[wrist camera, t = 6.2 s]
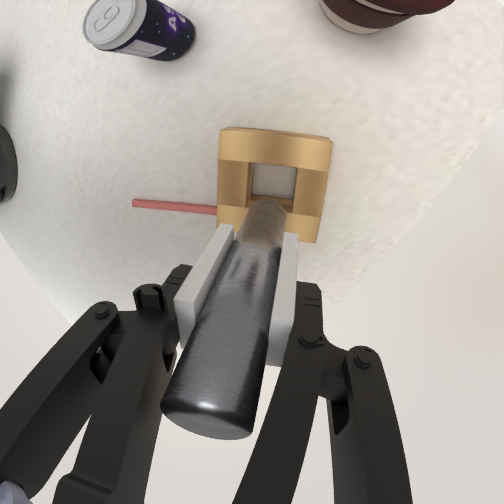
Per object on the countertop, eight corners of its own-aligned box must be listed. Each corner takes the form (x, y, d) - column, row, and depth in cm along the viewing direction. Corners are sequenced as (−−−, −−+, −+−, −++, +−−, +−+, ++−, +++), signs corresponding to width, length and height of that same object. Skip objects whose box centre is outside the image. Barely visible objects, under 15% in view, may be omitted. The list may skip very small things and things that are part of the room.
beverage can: (206, 42, 22) (152, 12, 12) (163, 71, 24) (93, 64, 14) (182, 8, 20) (123, -28, 10) (141, 37, 22) (70, 21, 12)
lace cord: (134, 204, 33) (132, 206, 32) (134, 199, 32) (131, 200, 32) (226, 214, 32) (224, 216, 31) (226, 207, 31) (224, 209, 31)
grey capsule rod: (246, 232, 21) (168, 426, 8) (248, 195, 19) (150, 385, 6) (284, 237, 20) (249, 445, 7) (289, 201, 19) (256, 410, 6)
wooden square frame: (225, 214, 32) (216, 229, 28) (229, 126, 27) (219, 130, 23) (314, 226, 31) (315, 243, 27) (328, 137, 26) (332, 142, 22)
